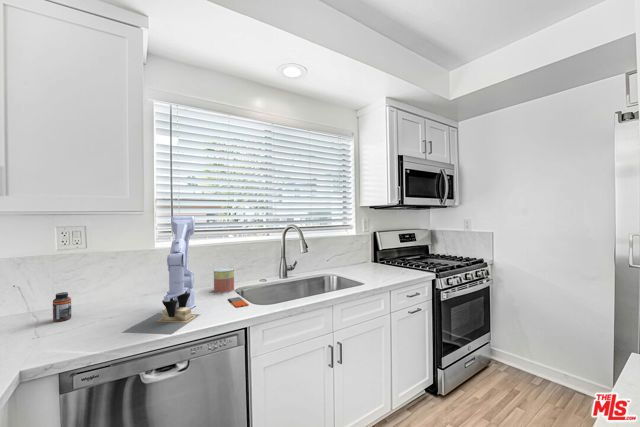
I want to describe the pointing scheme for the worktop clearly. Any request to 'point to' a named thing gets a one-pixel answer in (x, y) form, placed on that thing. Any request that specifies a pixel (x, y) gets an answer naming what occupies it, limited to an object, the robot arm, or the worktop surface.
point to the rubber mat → (159, 325)
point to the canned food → (223, 280)
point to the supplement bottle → (61, 307)
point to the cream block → (178, 314)
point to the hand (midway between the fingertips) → (177, 313)
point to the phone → (237, 302)
